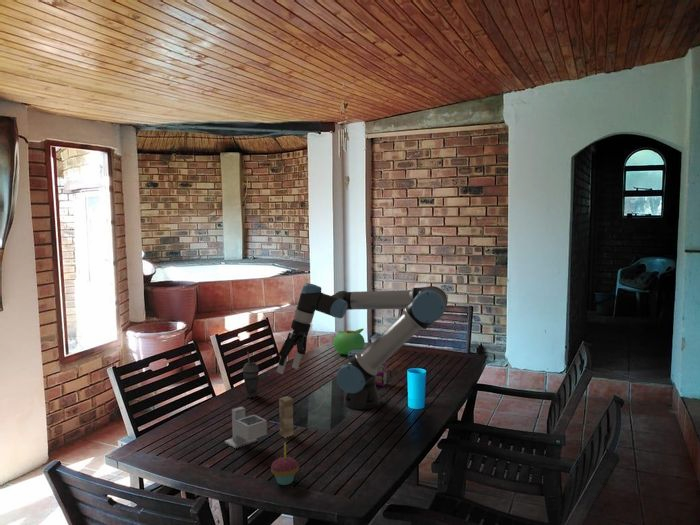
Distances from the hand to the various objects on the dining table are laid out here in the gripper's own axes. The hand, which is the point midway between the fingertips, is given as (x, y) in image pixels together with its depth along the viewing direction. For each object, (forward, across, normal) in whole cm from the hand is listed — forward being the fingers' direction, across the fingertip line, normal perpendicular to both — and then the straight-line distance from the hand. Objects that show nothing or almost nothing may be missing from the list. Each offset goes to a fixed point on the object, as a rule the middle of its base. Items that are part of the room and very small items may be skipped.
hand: (287, 370), depth 216 cm
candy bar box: (+5, -48, +24) cm, 54 cm away
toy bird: (+6, -93, -6) cm, 94 cm away
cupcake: (+17, +48, +31) cm, 60 cm away
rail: (+17, +18, +15) cm, 29 cm away
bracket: (+21, +31, +6) cm, 38 cm away
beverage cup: (+22, -14, -19) cm, 32 cm away
